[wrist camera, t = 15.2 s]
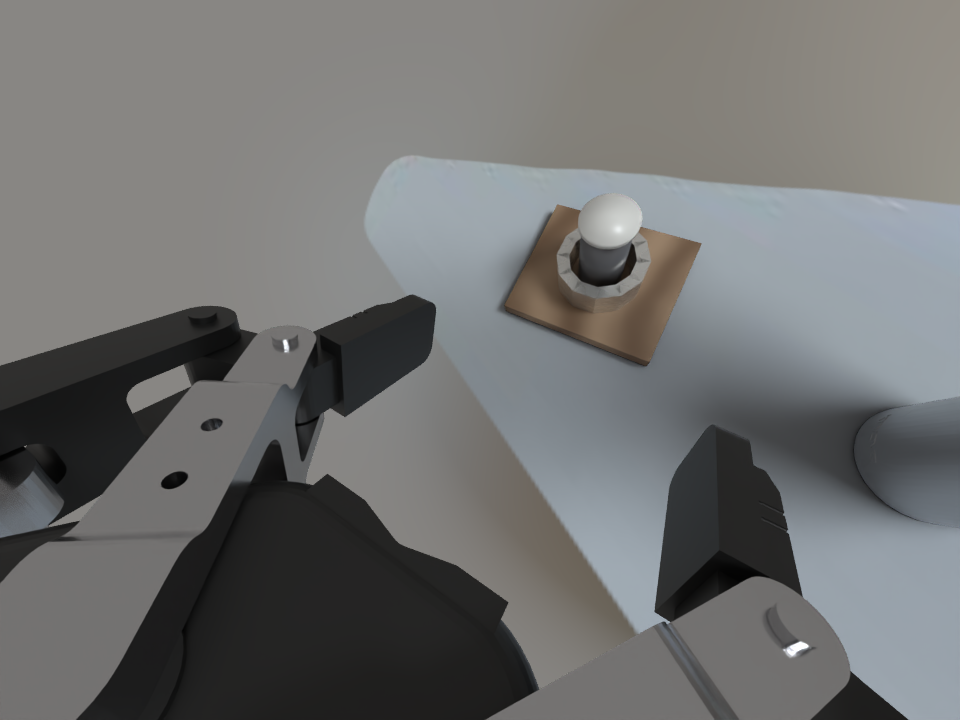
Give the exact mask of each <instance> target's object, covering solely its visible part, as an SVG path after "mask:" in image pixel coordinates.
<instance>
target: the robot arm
mask: <svg viewBox="0 0 960 720" xmlns="http://www.w3.org/2000/svg"><path fill="white" fill-rule="evenodd" d="M435 316H436V307H435V305H434V304H433V303H432V302H429V301H427V300H425V299H422V298H420V297H418V296H415V295H409V296H406V297H404V298H402V299H399V300H397V301H395V302H392V303H387V304H381V305H376V306H374V307H371V308H369V309H366V310H364V312H359V313H357V314H355V315H353V316H352V317H347V318H345V319H343V320H340V321H338V322H335V323H333V324H331V325H328V326H326V327H324V328H321V329H319V330H317V331H314V332H312V331H311V330H308V329H306V328H303V327H299V326H278V327H273V328H270V329H267V330H264V331H262V332H260V333H259V334H257V333H253V332H249V331H245V330H241V329H240V328H239V323H238V320H237V315H236V313H235V312H234V311H232V310H231V309H228V308H224V307H218V306H201V307H194V308H190V309H186V310H182V311H179V312H176V313H173V314H169V315H166V316H163V317H159V318H156V319H153V320H150V321H146V322H143V323H140V324H136V325H133V326H130V327H127V328H123V329H120V330H117V331H113V332H110V333H107V334H104V335H100V336H97V337H93V338H90V339H87V340H84V341H81V342H77V343H74V344H71V345H67V346H64V347H61V348H57V349H54V350H51V351H47V352H44V353H41V354H37V355H34V356H31V357H28V358H24V359H21V360H18V361H15V362H11V363H8V364H5V365H1V366H0V720H908V719H907V718H906V717H904V716H903V715H902V714H901V713H900V712H898V711H897V710H896V709H895V708H894V707H892V706H891V705H890V704H889V703H888V702H886V701H885V700H884V699H883V698H882V697H880V696H879V695H878V694H877V693H876V692H874V691H873V690H872V689H871V688H869V687H868V686H867V685H866V684H865V683H863V682H862V681H861V680H860V679H859V678H858V677H857V676H856V675H854V674H853V673H852V672H851V671H850V664H849V660H848V657H847V654H846V652H845V649H844V647H843V645H842V643H841V641H840V640H839V638H838V636H837V635H836V633H835V632H834V630H833V629H832V627H831V626H830V625H829V623H828V622H827V621H826V620H825V618H824V617H823V616H822V615H821V614H820V613H819V612H818V611H817V610H816V609H815V608H814V607H813V606H812V605H811V604H810V603H809V602H808V601H807V600H805V599H804V598H803V596H802V592H801V587H800V582H799V578H798V573H797V569H796V564H795V560H794V555H793V551H792V546H791V542H790V537H789V534H788V533H786V532H787V530H788V528H787V523H786V519H785V516H783V513H784V510H783V505H782V501H781V496H780V492H779V491H778V489H777V488H776V486H775V485H774V483H773V482H772V480H771V479H770V477H769V476H768V474H767V473H766V471H764V470H762V469H760V468H757V467H755V466H753V460H752V453H751V447H750V442H749V440H748V439H745V438H743V437H741V436H738V435H736V434H734V433H731V432H729V431H727V430H725V429H722V428H720V427H718V426H715V425H711V426H709V427H708V428H707V429H706V430H705V432H704V433H703V434H702V436H701V437H700V438H699V440H698V441H697V442H696V444H695V445H694V446H693V448H692V449H691V450H690V452H689V453H688V455H687V456H686V457H685V459H684V460H683V461H682V463H681V464H680V465H679V467H678V468H677V470H676V472H675V474H674V476H673V478H672V481H671V484H670V488H669V495H668V503H667V512H666V520H665V528H664V537H663V545H662V553H661V562H660V570H659V578H658V587H657V595H656V603H655V613H657V614H659V615H660V616H662V617H663V618H665V619H667V620H668V621H670V622H671V623H669V624H666V623H665V622H661V623H659V624H656V625H654V626H652V627H651V628H649V629H647V630H645V631H643V632H641V633H640V634H638V635H636V636H634V637H633V638H631V639H629V640H627V641H625V642H624V643H622V644H620V645H618V646H616V647H615V648H613V649H611V650H610V651H608V652H606V653H604V654H602V655H600V656H599V657H597V658H595V659H593V660H592V661H590V662H588V663H586V664H584V665H582V666H581V667H579V668H577V669H575V670H574V671H572V672H570V673H568V674H566V675H565V676H563V677H561V678H559V679H557V680H556V681H554V682H552V683H550V684H548V685H547V686H545V687H543V688H541V689H539V687H538V684H537V682H536V679H535V677H534V674H533V671H532V669H531V666H530V664H529V662H528V660H527V658H526V656H525V654H524V653H523V650H522V649H521V647H520V645H519V644H518V642H517V640H516V639H515V637H514V636H513V634H512V633H511V632H510V630H509V629H508V628H507V626H506V625H505V624H504V623H503V621H502V620H501V618H502V616H503V613H504V611H505V609H506V607H507V604H508V602H507V601H506V600H504V599H503V598H502V597H500V596H499V595H497V594H496V593H494V592H493V591H492V590H490V589H489V588H487V587H486V586H485V585H483V584H482V583H480V582H479V581H478V580H476V579H475V578H473V577H472V576H471V575H469V574H468V573H466V572H465V571H464V570H462V569H461V568H459V567H458V566H456V565H454V564H451V563H448V562H446V561H443V560H440V559H438V558H435V557H432V556H429V555H427V554H424V553H421V552H418V551H415V550H413V549H410V548H407V547H405V546H403V545H401V544H399V543H398V542H397V541H396V540H395V539H394V538H393V537H392V535H391V534H390V533H389V531H388V530H387V529H386V528H385V526H384V525H383V523H382V522H381V521H380V519H379V518H378V517H377V516H376V514H375V513H374V512H373V510H372V509H371V508H370V506H369V505H368V504H367V502H366V501H365V500H364V499H362V498H361V497H359V496H358V495H356V494H355V493H354V492H352V491H351V490H350V489H348V488H347V487H345V486H344V485H343V484H341V483H339V482H338V481H337V480H335V479H334V478H333V477H331V476H330V475H328V474H327V475H325V476H324V477H323V478H322V479H320V480H319V481H318V482H317V483H315V484H314V485H310V484H306V477H307V472H308V469H309V466H310V463H311V459H312V456H313V453H314V450H315V446H316V444H317V441H318V437H319V434H320V431H321V428H322V425H323V422H324V412H325V411H326V410H328V409H329V408H331V409H333V410H334V411H336V412H338V413H339V414H341V415H342V416H344V417H346V416H347V415H349V414H350V413H352V412H353V411H354V410H356V409H357V408H359V407H360V406H362V405H363V404H365V403H366V402H367V401H369V400H370V399H372V398H373V397H374V396H376V395H377V394H379V393H381V392H382V391H383V390H385V389H386V388H388V387H389V386H390V385H392V384H394V383H395V382H396V381H398V380H399V379H401V378H402V377H403V376H405V375H407V374H408V373H409V372H411V371H412V370H414V369H415V368H417V367H418V366H419V365H421V364H422V363H424V362H425V360H426V359H427V358H428V356H429V354H430V351H431V349H432V342H433V333H434V325H435ZM183 364H184V366H185V369H186V371H187V374H188V377H189V380H190V383H191V387H189V388H187V389H185V390H183V391H180V392H178V393H176V394H174V395H172V396H170V397H168V398H165V399H163V400H161V401H159V402H157V403H155V404H153V405H150V406H148V407H146V408H144V409H142V410H140V411H138V412H135V413H133V414H132V412H131V410H130V408H129V406H128V404H127V401H126V398H127V394H128V392H129V391H130V390H131V389H132V387H134V386H135V385H136V384H138V383H140V382H142V381H144V380H147V379H149V378H152V377H154V376H156V375H159V374H161V373H164V372H166V371H169V370H171V369H173V368H176V367H178V366H181V365H183ZM26 445H27V446H26ZM24 446H26V448H25V447H24ZM854 454H855V461H856V464H857V467H858V470H859V472H860V474H861V476H862V478H863V479H864V481H865V483H866V484H867V485H868V486H869V488H870V489H871V490H872V491H873V492H874V493H875V495H876V496H878V497H879V498H880V499H881V500H882V501H884V502H885V503H886V504H887V505H889V506H890V507H892V508H894V509H895V510H897V511H898V512H900V513H902V514H904V515H907V516H909V517H911V518H914V519H916V520H920V521H924V522H928V523H932V524H938V525H944V526H951V527H957V528H960V397H955V398H949V399H943V400H937V401H932V402H926V403H921V404H915V405H910V406H904V407H899V408H893V409H888V410H885V411H883V412H880V413H877V414H876V415H874V416H873V417H871V418H869V419H868V420H867V421H866V422H865V423H864V424H863V425H862V427H861V428H860V430H859V432H858V434H857V436H856V439H855V445H854ZM100 495H101V496H100ZM98 496H100V498H99V499H98V500H97V501H96V503H95V504H94V505H93V506H92V507H91V509H90V510H89V511H88V512H87V513H86V515H85V516H84V517H83V518H82V519H81V521H77V522H72V523H67V524H62V525H58V526H53V527H49V525H50V524H52V523H54V522H55V521H57V520H59V519H61V518H62V517H64V516H65V515H67V514H69V513H71V512H72V511H74V510H76V509H78V508H80V507H81V506H83V505H85V504H86V503H88V502H90V501H92V500H93V499H95V498H97V497H98Z"/></svg>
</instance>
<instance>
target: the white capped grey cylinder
mask: <svg viewBox="0 0 960 720" xmlns="http://www.w3.org/2000/svg"><path fill="white" fill-rule="evenodd" d="M641 223H642V212H641V209H640V207H639V206H638V204H637V203H636V202H635V201H634V200H633V199H631V198H629V197H627V196H625V195H622V194H615V193H611V194H604V195H600V196H597V197H595V198H593V199H592V200H590V201H589V202H587V203H586V204H585V206H584V207H583V208H582V210H581V212H580V214H579V218H578V230H579V233H580V236H581V240H580V254H579V268H578V279H579V280H580V281H581V282H584V283H587V284H590V285H593V286H596V287H602V286H610V285H616V284H618V283H619V282H620V280H621V276H622V273H623V270H624V266H625V263H626V260H627V256H628V253H629V250H630V246H631V243H632V240H633V239H634V238H635V237H636V235H637V234H638V232H639V229H640V227H641Z"/></svg>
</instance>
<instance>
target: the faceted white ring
mask: <svg viewBox="0 0 960 720" xmlns="http://www.w3.org/2000/svg"><path fill="white" fill-rule="evenodd" d="M580 240H581V236H580V233H579V230H578V228H577V229H576V230H574V231H573V232H571V233H570V234H568V235H567V236H566V237H565V239H564V241H563V243H562V245H561V247H560V249H559V251H558V253H557V274H558V283H559V291H560V292H561V293H562V295H563V296H564V297H565V298H566V299H567V300H568V302H569V303H570V304H571V305H572V306H573V307H576V308H579V309H582V310H584V311H587V312H590V313H593V314H594V313H603V312H611V311H617V310H618V309H620V308H621V307H623V306H624V305H626V304H627V303H629V302H630V301H632V300H633V299H635V297H636V295H637V293H638V291H639V288H640V286H641V284H642V282H643V280H644V277H645V275H646V273H647V270H648V268H649V266H650V263H651V258H650V253H649V248H648V243H647V240H646V239H645V238H644V237H643V236H642V235H641V234H640V233H639V232H638V234H637V235H636V237H635V238H634V239H633V240H632V243H631V246H630V250H629V253H628V256H627V260H626V263H627V264H628V265H629V271H630V275H629V276H628V277H627V278H625V279H624V280H622V281H621V282H619V283H618V284H616V285H610V286H602V287H596V286H593V285H590V284H587V283H584V282H581V281H580V280H579V279H578V277H577V276H576V275H575V274H574V273H573V272H572V271H571V267H572V265H573V263H574V262H575V260H577V259H578V258H579V254H580Z"/></svg>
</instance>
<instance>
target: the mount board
mask: <svg viewBox="0 0 960 720" xmlns="http://www.w3.org/2000/svg"><path fill="white" fill-rule="evenodd" d="M580 212H581V211H580V210H576V209H573V208H569V207H565V206H562V205H558V204H557V206H556V208H555V210H554V212H553V214H552V216H551V218H550V220H549V221H548V223H547V225H546V227H545V229H544V231H543V233H542V235H541V237H540V238H539V240H538V242H537V244H536V246H535V248H534V250H533V252H532V254H531V256H530V257H529V259H528V261H527V263H526V265H525V267H524V269H523V271H522V273H521V275H520V276H519V278H518V280H517V282H516V284H515V286H514V288H513V290H512V292H511V294H510V295H509V297H508V299H507V301H506V303H505V305H504V306H505V309H506V311H508V312H510V313H513V314H515V315H518V316H520V317H523V318H525V319H528V320H530V321H533V322H535V323H538V324H540V325H543V326H545V327H548V328H551V329H553V330H556V331H558V332H561V333H563V334H566V335H568V336H571V337H573V338H576V339H578V340H581V341H583V342H586V343H588V344H591V345H594V346H596V347H599V348H601V349H604V350H606V351H609V352H611V353H614V354H616V355H619V356H621V357H624V358H626V359H629V360H631V361H634V362H637V363H639V364H642V365H644V366H647V365H648V363H649V362H650V360H651V358H652V355H653V353H654V351H655V349H656V346H657V344H658V342H659V339H660V337H661V335H662V333H663V330H664V328H665V326H666V323H667V321H668V319H669V317H670V314H671V312H672V310H673V308H674V305H675V303H676V301H677V298H678V296H679V294H680V292H681V289H682V287H683V285H684V283H685V280H686V278H687V276H688V273H689V271H690V269H691V267H692V264H693V262H694V260H695V258H696V255H697V253H698V251H699V248H700V246H701V243H698V242H694V241H690V240H687V239H683V238H679V237H676V236H672V235H668V234H665V233H661V232H657V231H654V230H650V229H646V228H643V227H640V229H639V233H640V234H641V235H642V236H643V237H644V238H645V239H646V240H647V243H648V248H649V253H650V258H651V263H650V266H649V268H648V270H647V273H646V275H645V277H644V280H643V282H642V284H641V286H640V288H639V291H638V293H637V295H636V297H635V299H633V300H632V301H630V302H629V303H627V304H626V305H624V306H623V307H621V308H620V309H618V310H617V311H611V312H603V313H594V314H593V313H590V312H587V311H584V310H582V309H579V308H576V307H573V306H572V305H571V304H570V303H569V302H568V300H567V299H566V298H565V297H564V296H563V295H562V293H561V292H560V291H559V283H558V274H557V253H558V251H559V249H560V247H561V245H562V243H563V241H564V239H565V237H566V236H567V235H568V234H570V233H571V232H573V231H574V230H576V229H577V228H578V218H579V214H580ZM578 268H579V258H578V259H577V260H575V262H574V263H573V265H572V267H571V271H572V272H573V273H574V274H575V275H576V276H577V277H578ZM629 275H630V271H629V265H628V264H627V263H625V266H624V270H623V273H622V276H621V280H620V282H621V281H622V280H624V279H625V278H627V277H628V276H629Z"/></svg>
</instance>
